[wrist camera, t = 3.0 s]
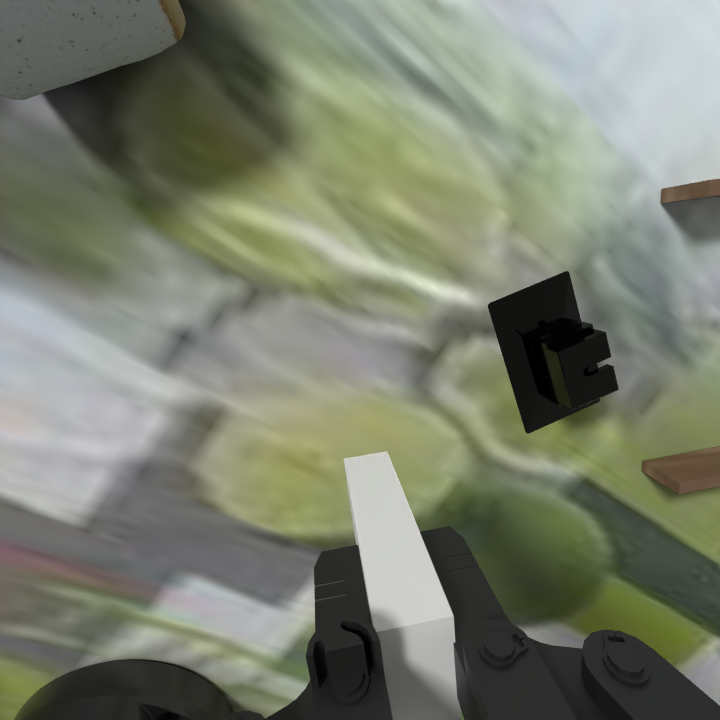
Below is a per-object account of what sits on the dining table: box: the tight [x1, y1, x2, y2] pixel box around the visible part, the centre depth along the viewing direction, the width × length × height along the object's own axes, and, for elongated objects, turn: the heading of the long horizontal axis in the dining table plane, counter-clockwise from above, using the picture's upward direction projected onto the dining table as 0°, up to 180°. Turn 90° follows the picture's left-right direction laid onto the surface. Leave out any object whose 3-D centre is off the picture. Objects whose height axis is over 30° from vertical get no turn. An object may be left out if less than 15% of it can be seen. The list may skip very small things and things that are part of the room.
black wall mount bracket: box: [488, 271, 618, 433], centre depth 24 cm, size 12×7×5 cm, turn 22°
